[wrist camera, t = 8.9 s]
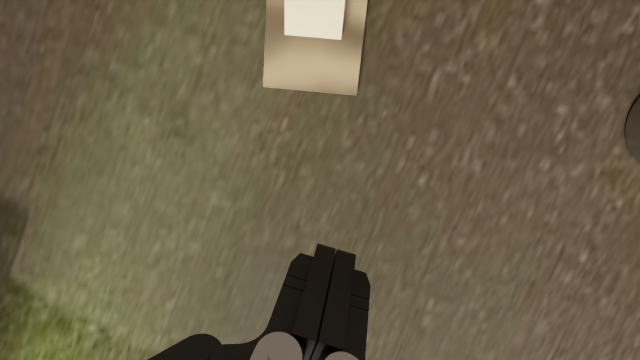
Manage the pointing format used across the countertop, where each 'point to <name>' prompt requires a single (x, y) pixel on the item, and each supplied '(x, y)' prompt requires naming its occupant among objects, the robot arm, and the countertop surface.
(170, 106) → the countertop surface
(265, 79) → the domino board
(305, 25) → the tile
